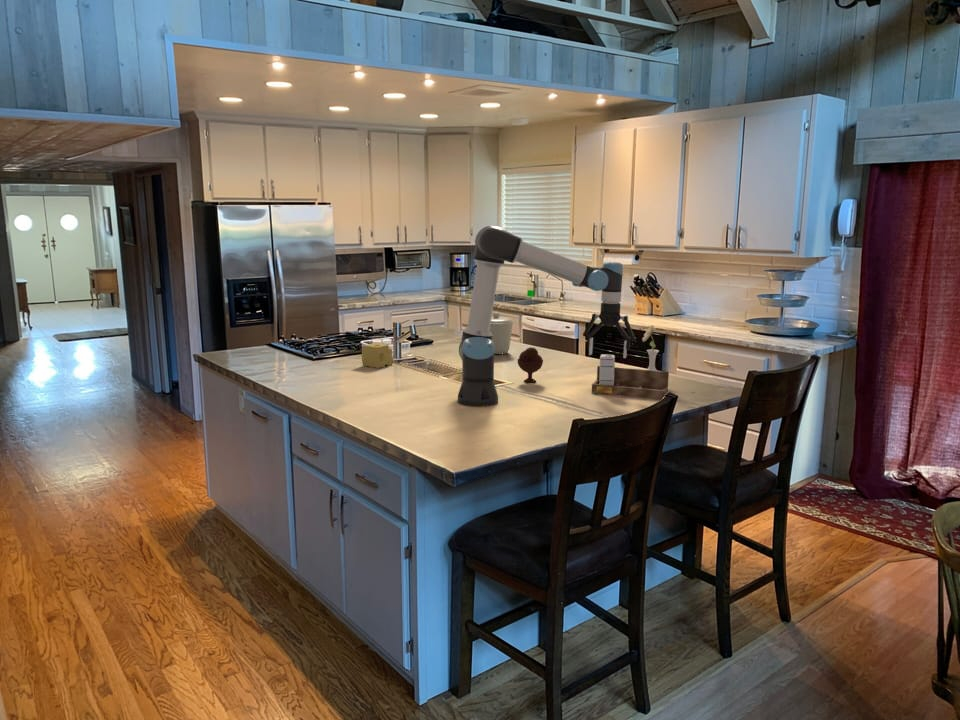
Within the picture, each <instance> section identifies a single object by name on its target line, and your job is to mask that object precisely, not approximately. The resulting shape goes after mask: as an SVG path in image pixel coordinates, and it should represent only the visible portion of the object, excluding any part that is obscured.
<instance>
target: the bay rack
mask: <svg viewBox="0 0 960 720" xmlns="http://www.w3.org/2000/svg"><path fill="white" fill-rule="evenodd" d="M599 373H600V365H597V370H596V380H595V381H593V383H592V384H591V394H598V393H601V394H600V395H608V394H611V395H610V396H619V395H621V397H629V396H631V398H638V399H639V398H641V399H649V398H651V399H652V400H660V401H662V400H661V399H662V398H663V397H664V396H665V394H667V395H668V394H669V393H668V390H669V377H670V372H669V371H666V370H665V371H663V370H657V371H653V370H647V369H639V368H629V367H627V368H626V367H616V366H615V373H614V386H612V385H601V384H599ZM651 399H650V400H651Z"/></svg>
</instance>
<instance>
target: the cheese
mask: <svg viewBox="0 0 960 720" xmlns="http://www.w3.org/2000/svg"><path fill="white" fill-rule="evenodd" d="M392 355H393V349H392V348H391V347H390V346H389V344H387V343H384V342H383V343H382V342H379V341H374V342H372V343H369V344H363V345H362V347H361V363H362V367H366V366H369V367H368V368H373V367H376V368H375V369H381V368H380V367H382V368H385V367H386V366H385V365H391V366H393V365H394V357H393V356H392ZM392 364H393V365H392ZM384 366H385V367H384Z"/></svg>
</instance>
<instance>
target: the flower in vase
mask: <svg viewBox="0 0 960 720" xmlns="http://www.w3.org/2000/svg"><path fill="white" fill-rule="evenodd" d="M654 328H655V326H654V325H653V324H651V325H649V327H648V328H647V329H646V331H645V333H644V334H643V337H642V338H641V340H642V342H646V341H647V340H648V339H649V338H650V337H651V339H652V340H651V341H650V343H649V346H651V349H647V350H646V352H647V353H648V359H649V360H648V361H649V365H648V367H647V369H646V370H653V371H658V370H657V368H656V358H657V354H658V353H659V352H660V350H658V349H655V348H656V344H655V340H654V337H653V335H652V333H653V331H654Z"/></svg>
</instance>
